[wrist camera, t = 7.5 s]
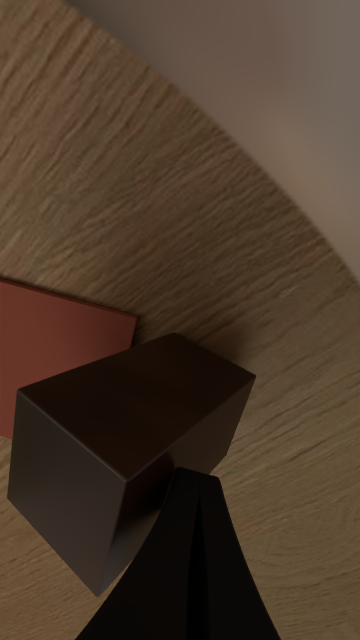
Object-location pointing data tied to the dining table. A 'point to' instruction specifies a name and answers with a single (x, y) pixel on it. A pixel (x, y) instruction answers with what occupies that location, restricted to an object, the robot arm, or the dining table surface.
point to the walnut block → (119, 446)
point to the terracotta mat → (51, 339)
